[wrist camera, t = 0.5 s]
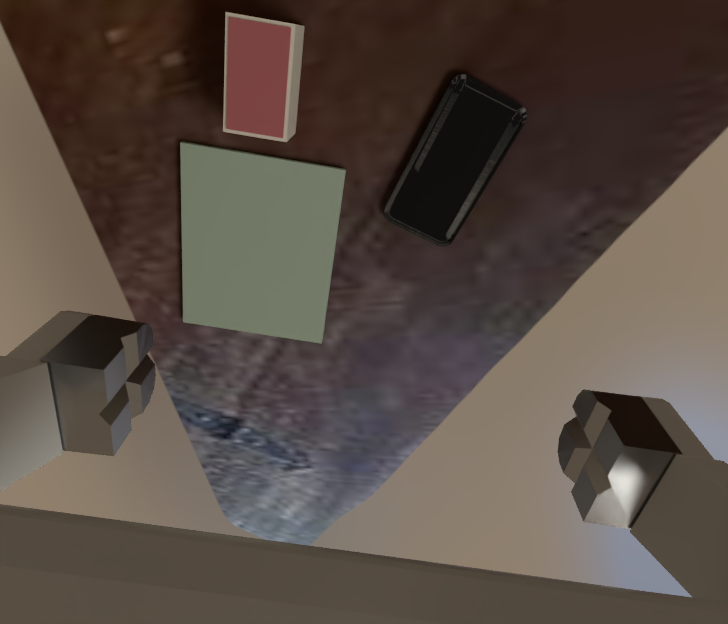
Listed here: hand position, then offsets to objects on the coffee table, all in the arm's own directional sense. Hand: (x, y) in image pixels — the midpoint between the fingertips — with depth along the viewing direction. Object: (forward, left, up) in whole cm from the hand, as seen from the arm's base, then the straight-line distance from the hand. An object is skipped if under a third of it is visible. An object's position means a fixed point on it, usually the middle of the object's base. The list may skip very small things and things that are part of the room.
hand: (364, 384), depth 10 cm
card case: (-1, -11, -42) cm, 44 cm away
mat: (+16, -11, -42) cm, 46 cm away
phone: (+4, +7, -43) cm, 44 cm away
